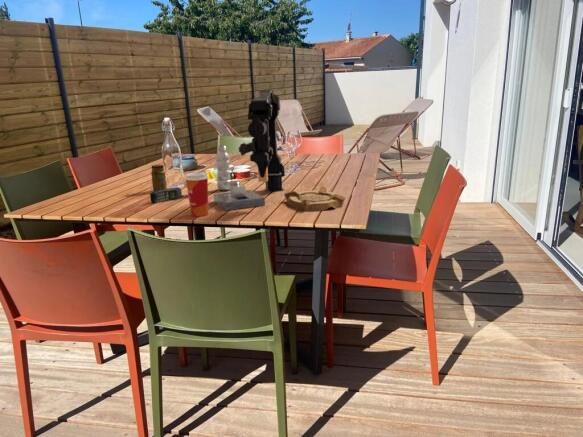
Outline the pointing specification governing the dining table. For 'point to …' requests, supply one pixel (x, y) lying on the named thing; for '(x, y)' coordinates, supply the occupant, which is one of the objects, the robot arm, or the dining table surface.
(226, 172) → the plastic bottle
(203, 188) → the coffee cup
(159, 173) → the condiment
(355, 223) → the dining table surface
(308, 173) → the dining table surface
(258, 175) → the orange rectangular block
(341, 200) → the ashtray
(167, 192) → the dark grey elongated bar
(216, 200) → the grey slotted base plate
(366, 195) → the dining table surface
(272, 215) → the dining table surface
